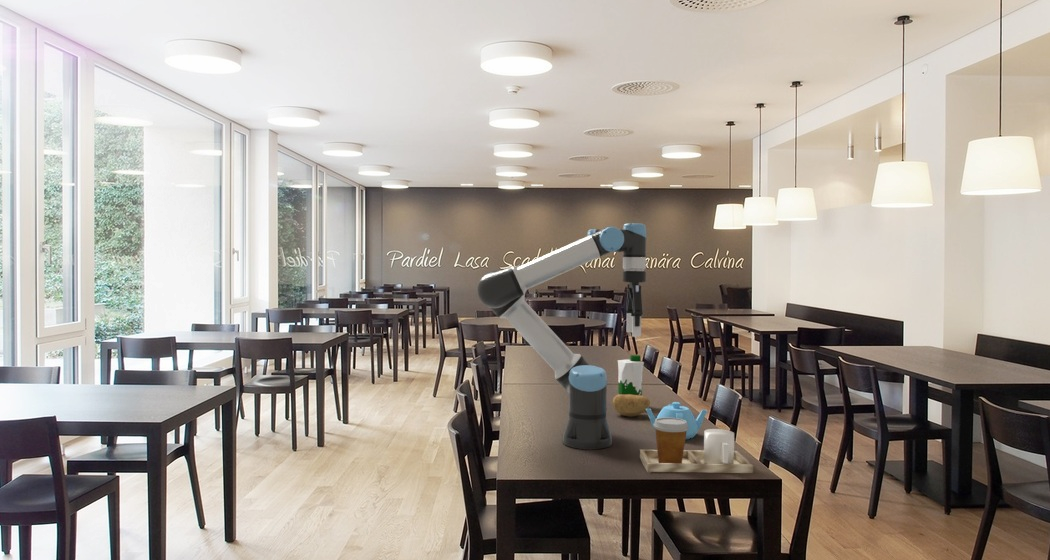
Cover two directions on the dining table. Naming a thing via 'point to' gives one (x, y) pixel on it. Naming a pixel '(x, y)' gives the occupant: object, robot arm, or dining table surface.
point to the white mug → (718, 446)
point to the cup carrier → (694, 463)
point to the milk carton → (630, 376)
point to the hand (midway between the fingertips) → (633, 334)
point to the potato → (630, 404)
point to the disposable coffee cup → (670, 439)
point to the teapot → (680, 417)
